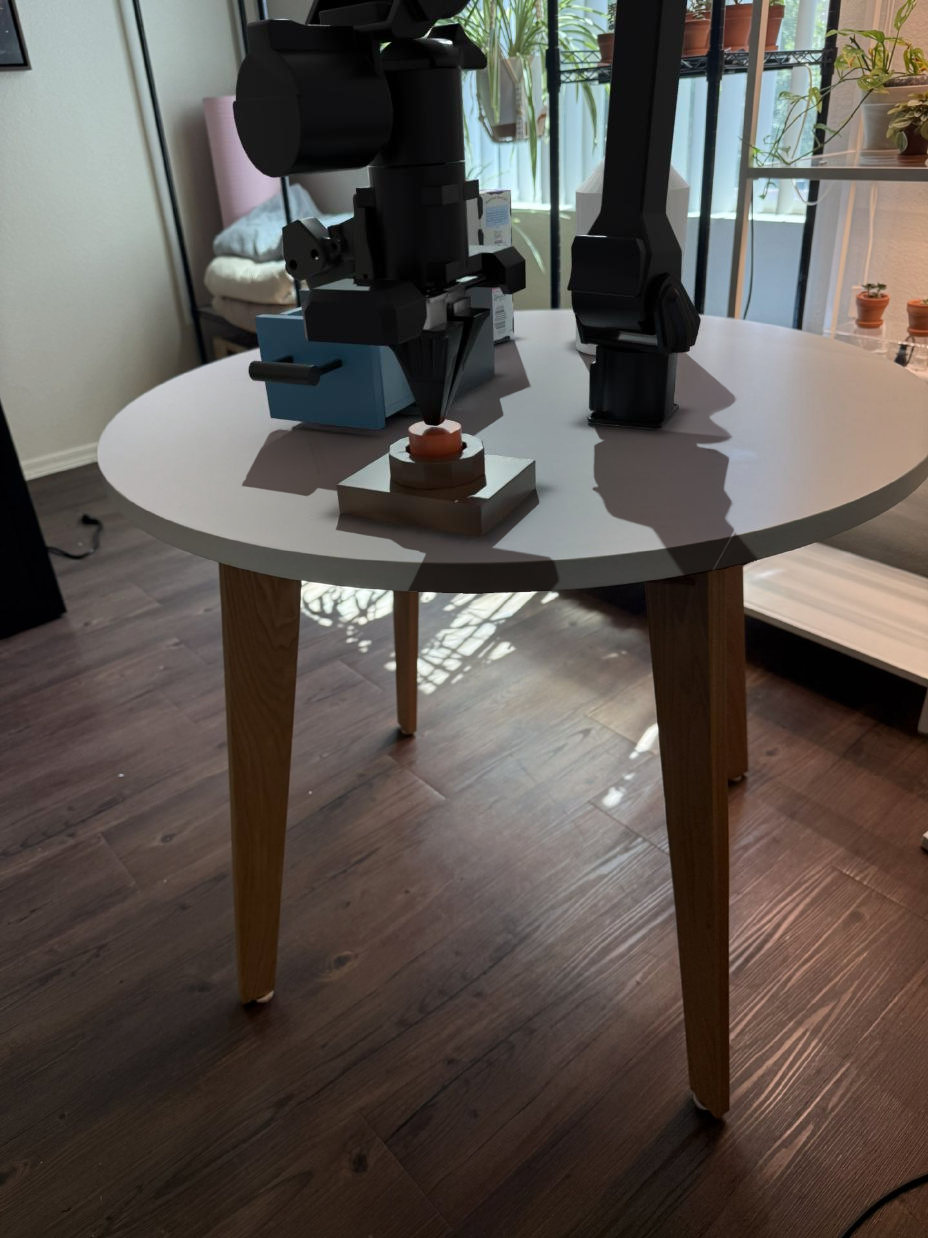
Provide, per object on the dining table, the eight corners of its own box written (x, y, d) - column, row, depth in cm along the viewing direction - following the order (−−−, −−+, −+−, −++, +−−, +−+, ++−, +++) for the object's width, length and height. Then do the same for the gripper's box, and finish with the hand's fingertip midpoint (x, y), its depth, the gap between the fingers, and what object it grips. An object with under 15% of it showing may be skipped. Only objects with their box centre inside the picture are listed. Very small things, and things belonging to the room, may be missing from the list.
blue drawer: (345, 448, 70) (332, 336, 66) (234, 435, 75) (214, 328, 70) (451, 388, 84) (446, 292, 80) (352, 380, 89) (342, 288, 85)
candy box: (516, 338, 106) (514, 187, 98) (485, 348, 102) (479, 192, 94) (434, 327, 114) (425, 187, 106) (402, 336, 110) (390, 191, 102)
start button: (471, 446, 61) (470, 422, 60) (447, 463, 58) (445, 437, 57) (426, 441, 62) (424, 417, 61) (400, 457, 59) (398, 432, 59)
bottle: (569, 336, 106) (572, 95, 93) (669, 332, 105) (685, 88, 93) (577, 359, 95) (581, 92, 83) (687, 355, 95) (708, 85, 82)
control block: (536, 488, 63) (535, 434, 61) (482, 537, 56) (479, 478, 54) (404, 471, 68) (399, 420, 66) (339, 514, 61) (332, 459, 59)
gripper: (382, 158, 62) (401, 380, 70) (203, 180, 48) (252, 455, 55) (527, 153, 57) (530, 391, 65) (378, 175, 43) (404, 476, 51)
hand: (434, 423), depth 59 cm, fingers closed
